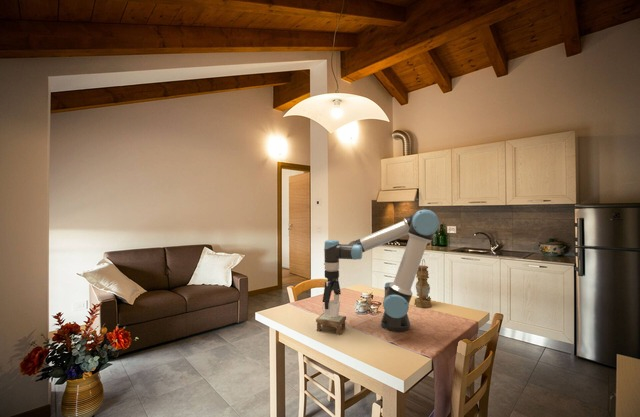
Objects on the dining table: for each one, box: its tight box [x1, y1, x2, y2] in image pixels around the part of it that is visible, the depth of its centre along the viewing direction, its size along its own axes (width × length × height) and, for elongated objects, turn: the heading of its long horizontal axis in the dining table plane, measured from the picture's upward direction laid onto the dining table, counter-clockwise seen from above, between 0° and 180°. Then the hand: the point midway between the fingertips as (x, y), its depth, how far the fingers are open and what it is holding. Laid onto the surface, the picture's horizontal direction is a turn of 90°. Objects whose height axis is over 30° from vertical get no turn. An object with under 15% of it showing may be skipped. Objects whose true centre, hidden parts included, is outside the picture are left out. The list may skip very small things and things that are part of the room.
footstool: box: [315, 312, 347, 335], centre depth 157 cm, size 13×10×6 cm
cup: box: [321, 299, 341, 319], centre depth 157 cm, size 7×10×8 cm
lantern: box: [414, 258, 432, 308], centre depth 196 cm, size 15×10×30 cm
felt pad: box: [319, 313, 345, 322], centre depth 157 cm, size 11×8×1 cm
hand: (332, 310), depth 156 cm, fingers open, 13 cm apart
